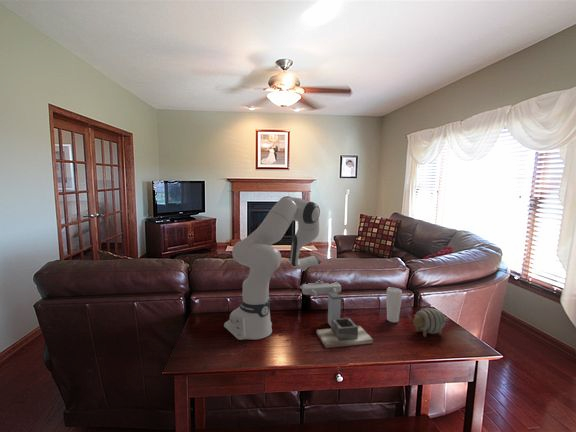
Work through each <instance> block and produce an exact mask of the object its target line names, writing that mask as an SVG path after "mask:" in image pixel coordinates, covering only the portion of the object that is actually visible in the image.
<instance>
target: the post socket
mask: <svg viewBox="0 0 576 432" xmlns="http://www.w3.org/2000/svg"><path fill="white" fill-rule="evenodd" d="M316 334H317V336H318V337H319V339H320V341H321V343H322V344H323V345H324V347H325V348H326V349H328V348H329V349H330V348H340V347H341V348H342V347H350V346H359V345H369V344H374V339H373V338H372V336H370V334H368V333H367V331H366V330H365V329H364V328H363V327H362V326H361V325H356V324H355V322H354V321H353V320H352V319H351V318H350V317H340V318H337V319H332V327H331V326H330V328H322V329H321V328H320V329H316Z"/></svg>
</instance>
